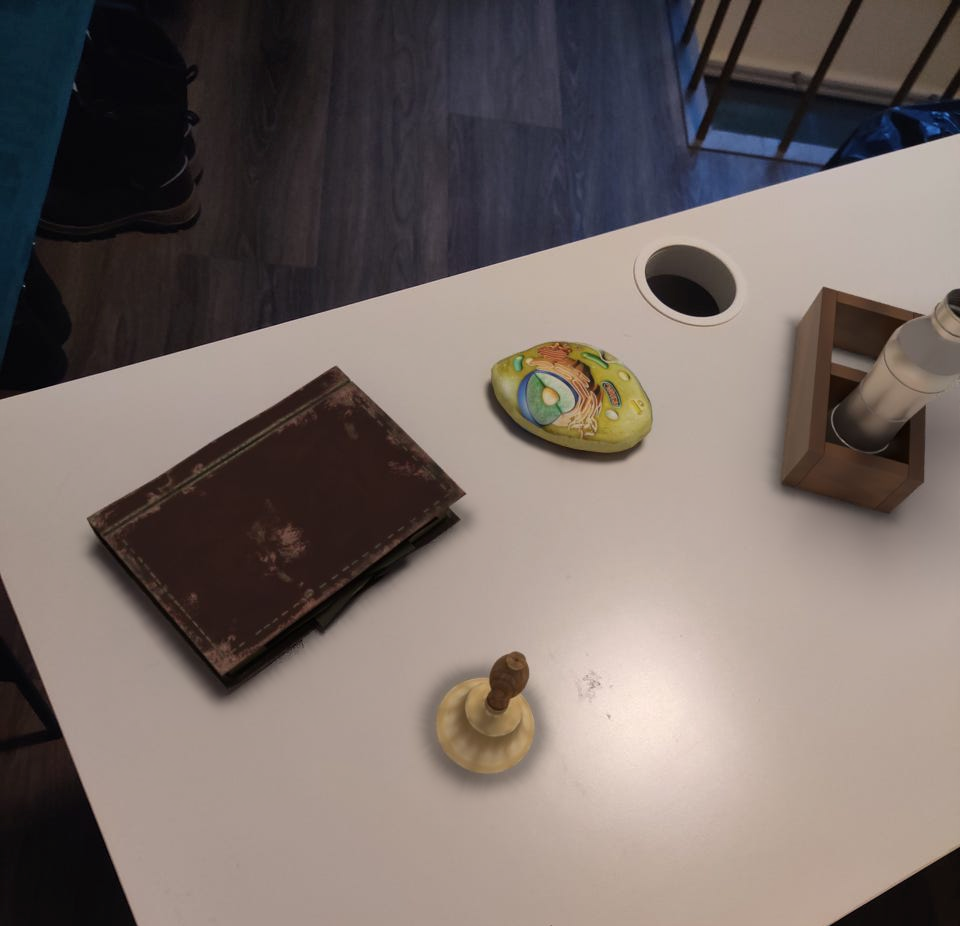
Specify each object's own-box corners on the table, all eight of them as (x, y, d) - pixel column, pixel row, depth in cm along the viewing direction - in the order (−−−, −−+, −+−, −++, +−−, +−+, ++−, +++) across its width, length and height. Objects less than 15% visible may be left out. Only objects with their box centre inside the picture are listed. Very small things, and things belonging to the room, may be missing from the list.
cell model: (639, 473, 77) (503, 386, 72) (595, 490, 84) (469, 412, 79) (679, 373, 79) (550, 282, 74) (633, 398, 86) (512, 316, 81)
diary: (98, 540, 70) (79, 509, 66) (332, 393, 79) (331, 356, 74) (236, 702, 67) (226, 681, 62) (466, 528, 75) (473, 498, 71)
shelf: (893, 356, 90) (927, 315, 84) (886, 516, 82) (924, 482, 76) (795, 329, 90) (823, 286, 84) (778, 486, 81) (808, 450, 76)
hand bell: (544, 767, 68) (594, 707, 53) (443, 784, 66) (466, 728, 52) (523, 671, 71) (564, 590, 56) (425, 686, 69) (442, 605, 55)
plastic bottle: (836, 417, 86) (965, 262, 67) (880, 467, 84) (1025, 322, 66) (791, 442, 84) (910, 289, 65) (835, 494, 82) (970, 352, 64)
